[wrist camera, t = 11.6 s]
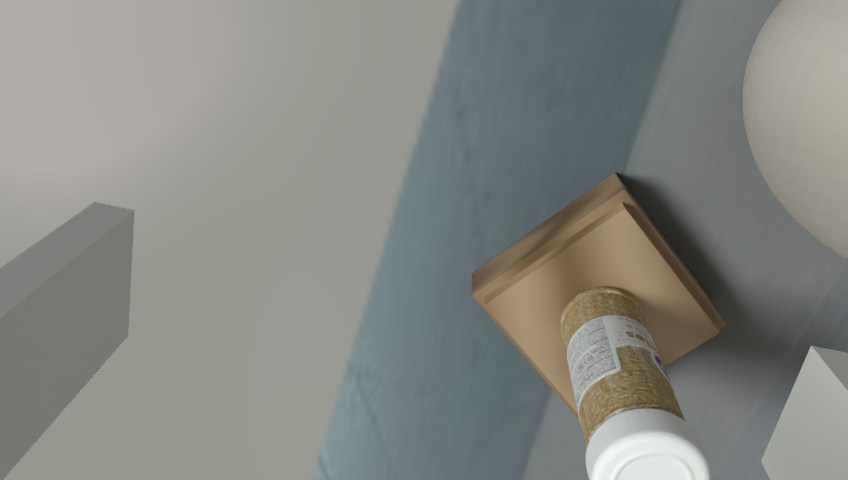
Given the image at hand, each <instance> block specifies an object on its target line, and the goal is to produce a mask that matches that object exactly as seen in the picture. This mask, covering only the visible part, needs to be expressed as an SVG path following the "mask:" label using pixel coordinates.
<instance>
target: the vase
mask: <svg viewBox="0 0 848 480" xmlns="http://www.w3.org/2000/svg"><path fill="white" fill-rule="evenodd" d="M743 118H744V126H745V130H746V134H747V138H748V141H749V145H750V149H751V152H752V155H753V157H754V159H755V162H756V164H757V166H758V168H759V171H760V172H761V174H762V176H763V178H764V180H765V181H766V183H767V185H768V186H769V188H770V189H771V191H772V192H773V194H774V196H775V197H776V198H777V199H778V200H779V202H780V203H781V204H782V205H783V206H784V208H785V209H786V210H787V211H788V212H789V213H790V214H791V216H792V217H793V218H794V219H795V220H796V221H797V222H798V223H799V224H800V225H802V226H803V227H804V228H805V229H806V230H807V231H808V232H809V233H810V234H812V235H813V236H814V237H815V238H817V239H818V240H819V241H821V242H822V243H824V244H825V245H826V246H828V247H829V248H830V249H832V250H833V251H835V252H836V253H838V254H840V255H841V256H843V257H844V258H846V259H848V0H782V1H781V2H780V3H779V4H778V5H777V6H776V8H775V9H774V11H773V12H772V13H771V15H770V16H769V17H768V19H767V20H766V22H765V24H764V25H763V27H762V29H761V31H760V32H759V34H758V36H757V38H756V41H755V43H754V45H753V48H752V50H751V53H750V56H749V59H748V63H747V66H746V70H745V77H744V84H743Z"/></svg>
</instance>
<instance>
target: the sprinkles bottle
mask: <svg viewBox="0 0 848 480" xmlns="http://www.w3.org/2000/svg"><path fill="white" fill-rule="evenodd" d="M560 331H561V336H562V339H563V341H564V343H565V345H566V349H567V361H568V366H569V371H570V377H571V382H572V387H573V391H574V396H575V401H576V406H577V411H578V415H579V420H580V423H581V426H582V427H583V433H584V436H585V442H586V447H587V451H586V467H587V472H588V476H589V480H711V474H710V467H709V464H708V461H707V458H706V455H705V453H704V450H703V448H702V446H701V443H700V441H699V439H698V437H697V435H696V433H695V432H694V430H693V429H692V428H691V427H690V426H689V425H688V424H687V423H686V421H685V419H684V418H683V414H682V412H681V410H680V407H679V405H678V403H677V399H676V398H675V395H674V390H673V388H672V385H671V383H670V380H669V378H668V376H667V373H666V371H665V368H664V366H663V363H662V361H661V359H660V356H659V353H658V351H657V348H656V346H655V343H654V341H653V339H652V337H651V335H650V333H649V332H648V329H647V327H646V325H645V317H644V313H643V311H642V309H641V308H640V306H639V304H638V302H637V301H635V300H634V299H633V298H632V297H631V296H630V295H629V294H627V293H624V292H623V291H620V290H617V289H615V288H606V287H601V288H594V289H591V290H587V291H585V292H582V293H580V294H578V295H577V296H576V297H575V298H574V299H573V300H572V301H570V302H569V304H568V305H567V306H566V307H565V309H564V311H563V314H562V316H561V321H560Z"/></svg>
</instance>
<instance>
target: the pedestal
mask: <svg viewBox="0 0 848 480" xmlns="http://www.w3.org/2000/svg"><path fill="white" fill-rule="evenodd" d="M601 287H606V288H615V289H617V290H620V291H623V292H624V293H627V294H629V295H630V296H631V297H632V298H633V299H634V300H635V301H637V302H638V304H639V306H640V308H641V309H642V311H643V313H644V317H645V325H646V327H647V329H648V332H649V333H650V335H651V337H652V339H653V341H654V343H655V346H656V348H657V351H658V353H659V356H660V359H661V361H662V363H663V366H664V367H665V366H667V365H668V364H670V363H672V362H673V361H675V360H677V359H678V358H680V357H681V356H683V355H685V354H686V353H688V352H690V351H691V350H693V349H695V348H696V347H698V346H700V345H701V344H703V343H704V342H706V341H708V340H709V339H711V338H713V337H714V336H716V335H718V334H719V333H720V332H719V331H720V330H722V329H723V328H725V327H727V326H728V325H727V324H726V322H725V321H724V319H723V317H722V316H721V314H720V313H719V311H718V309H717V308H716V306H715V305H714V303H713V302H712V300H711V299H710V298H709V296H708V295H707V294H706V292H705V291H704V290H703V288H702V287H701V286H700V284H699V283H698V282H697V280H696V279H695V278H694V276H693V275H692V274H691V272H690V271H689V270H688V268H687V267H686V266H685V265H684V263H683V262H682V261H681V259H680V258H679V257H678V255H677V254H676V253H675V251H674V250H673V249H672V247H671V246H670V245H669V243H668V242H667V241H666V239H665V238H664V237H663V235H662V234H661V233H660V231H659V230H658V229H657V227H656V226H655V225H654V223H653V222H652V221H651V220H650V218H649V217H648V216H647V214H646V213H645V212H644V210H643V209H642V208H641V206H640V205H639V204H638V202H637V201H636V200H635V198H634V197H633V196H632V194H631V193H630V192H629V190H628V189H627V188H626V186H625V185H624V184H623V182H622V181H621V180H620V178H619V177H618V176H617V174H616V173H614V174H612V175H611V176H609V177H608V178H606V179H605V180H604V181H602V182H601V183H599V184H598V185H597V186H595V187H594V188H592V189H591V190H589V191H588V192H587V193H585V194H584V195H582V196H581V197H580V198H578V199H577V200H575V201H574V202H572V203H571V204H570V205H568V206H567V207H565V208H564V209H563V210H561V211H560V212H558V213H557V214H555V215H554V216H553V217H551V218H550V219H548V220H547V221H546V222H544V223H543V224H541V225H540V226H539V227H537V228H536V229H534V230H533V231H531V232H530V233H529V234H527V235H526V236H524V237H523V238H522V239H520V240H519V241H517V242H516V243H514V244H513V245H512V246H510V247H509V248H507V249H506V250H505V251H503V252H502V253H500V254H499V255H497V256H496V257H495V258H493V259H492V260H490V261H489V262H488V263H486V264H485V265H483V266H482V267H480V268H479V269H478V270H476V271H475V272H473V273H472V296H473V297H474V298H475V300H476V301H477V302H478V303H479V304H480V305H481V306H482V308H483V309H484V310H485V311H486V312H487V313H488V315H489V316H490V317H491V318H492V319H493V320H494V322H495V323H496V324H497V325H498V326H499V327H500V329H501V330H502V331H503V332H504V333H505V334H506V336H507V337H508V338H509V339H510V340H511V341H512V343H513V344H514V345H515V346H516V347H517V348H518V350H519V351H520V352H521V353H522V354H523V355H524V356H525V358H526V359H527V360H528V361H529V362H530V363H531V365H532V366H533V367H534V368H535V369H536V370H537V372H538V373H539V374H540V375H541V376H542V377H543V379H544V380H545V381H546V382H547V383H548V384H549V386H550V387H551V388H552V389H553V390H554V391H555V393H556V394H557V395H558V396H559V397H560V398H561V400H562V401H563V402H564V403H565V404H566V405H567V407H568V408H569V409H570V410H571V411H572V412H573V413H574V415H575V416H576V417H577V418H578V417H579V415H578V411H577V406H576V401H575V396H574V391H573V387H572V382H571V377H570V371H569V366H568V361H567V349H566V345H565V343H564V341H563V339H562V336H561V331H560V321H561V316H562V314H563V311H564V309H565V307H566V306H567V305H568V304H569V302H570V301H572V300H573V299H574V298H575V297H576V296H577V295H578V294H580V293H582V292H585V291H587V290H591V289H594V288H601Z"/></svg>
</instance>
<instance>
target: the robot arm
mask: <svg viewBox="0 0 848 480" xmlns="http://www.w3.org/2000/svg"><path fill="white" fill-rule="evenodd" d="M133 224H134V210H131V209H126V208H121V207H116V206H111V205H106V204H101V203H96V202H94V203H93V204H91V205H90V206H88V207H87V208H86V209H84V210H83V211H81V212H80V213H78V214H77V215H75V216H74V217H73V218H71V219H70V220H68V221H67V222H66V223H64V224H63V225H61V226H60V227H59V228H57V229H55V230H54V231H53V232H51V233H50V234H48V235H47V236H46V237H44V238H43V239H41V240H40V241H38V242H37V243H36V244H34V245H33V246H31V247H30V248H28V249H27V250H26V251H24V252H23V253H21V254H20V255H18V256H17V257H16V258H14V259H13V260H11V261H10V262H8V263H7V264H6V265H4V266H3V267H1V268H0V480H3V479H4V478H5V476H6V475H7V474H8V473H9V472H10V471H11V470H12V469H13V467H14V466H15V465H16V464H17V463H18V461H19V460H20V459H21V458H22V457H23V456H24V455H25V453H26V452H27V451H28V450H29V449H30V448H31V447H32V446H33V444H34V443H35V442H36V441H37V440H38V439H39V438H40V436H41V435H42V434H43V433H44V432H45V431H46V429H47V428H48V427H49V426H50V425H51V424H52V423H53V421H54V420H55V419H56V418H57V417H58V416H59V414H60V413H61V412H62V411H63V410H64V409H65V408H66V406H67V405H68V404H69V403H70V402H71V401H72V400H73V398H74V397H75V396H76V395H77V394H78V393H79V392H80V390H81V389H82V388H83V387H84V386H85V385H86V383H87V382H88V381H89V380H90V379H91V378H92V377H93V375H94V374H95V373H96V372H97V371H98V369H100V367H101V366H102V365H103V364H104V363H105V362H106V360H107V359H108V358H109V357H110V356H111V355H112V353H113V352H114V351H115V350H116V349H117V348H118V347H119V345H120V344H121V343H122V342H123V341H124V340H125V339H126V337H127V336H128V325H129V305H130V285H131V263H132V244H133ZM761 463H762V464H763V466H764V468H765V470H766V472H767V474H768V476H769V478H770V479H771V480H848V353H846V352H841V351H836V350H831V349H826V348H821V347H816V346H811V347H810V349H809V352H808V354H807V356H806V359H805V361H804V363H803V366H802V368H801V370H800V372H799V375H798V377H797V379H796V382H795V384H794V386H793V389H792V391H791V393H790V396H789V398H788V400H787V403H786V405H785V407H784V409H783V412H782V414H781V416H780V419H779V421H778V423H777V426H776V428H775V430H774V433H773V435H772V437H771V439H770V442H769V444H768V446H767V449H766V451H765V453H764V456H763V458H762V460H761Z"/></svg>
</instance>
